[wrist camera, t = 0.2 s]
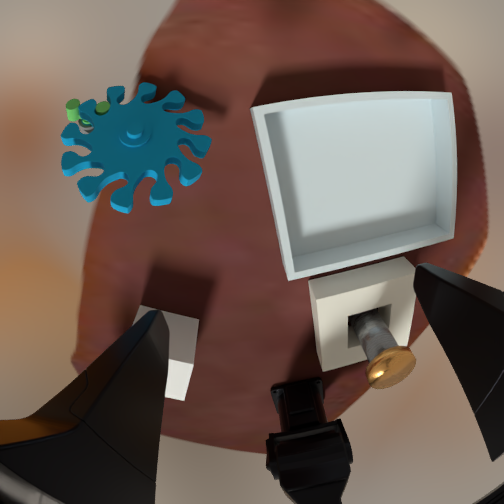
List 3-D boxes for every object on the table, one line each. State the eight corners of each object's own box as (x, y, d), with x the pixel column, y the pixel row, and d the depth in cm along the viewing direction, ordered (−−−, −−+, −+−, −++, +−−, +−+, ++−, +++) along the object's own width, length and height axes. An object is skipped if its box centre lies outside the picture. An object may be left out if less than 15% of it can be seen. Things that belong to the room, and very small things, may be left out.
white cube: (199, 318, 28) (194, 364, 22) (189, 357, 30) (184, 400, 25) (140, 304, 26) (123, 347, 21) (137, 344, 29) (124, 386, 24)
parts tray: (436, 225, 24) (453, 238, 22) (282, 261, 25) (288, 280, 22) (430, 92, 18) (451, 92, 16) (249, 108, 19) (252, 107, 16)
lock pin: (377, 318, 29) (411, 378, 21) (339, 328, 29) (367, 394, 21) (378, 286, 27) (420, 347, 19) (338, 297, 27) (371, 364, 19)
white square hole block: (396, 328, 30) (406, 345, 28) (316, 352, 31) (322, 371, 28) (403, 256, 26) (418, 271, 23) (308, 280, 26) (316, 299, 23)
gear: (241, 123, 18) (149, 238, 14) (217, 166, 23) (146, 263, 19) (122, 55, 16) (18, 140, 12) (119, 104, 21) (40, 183, 17)
